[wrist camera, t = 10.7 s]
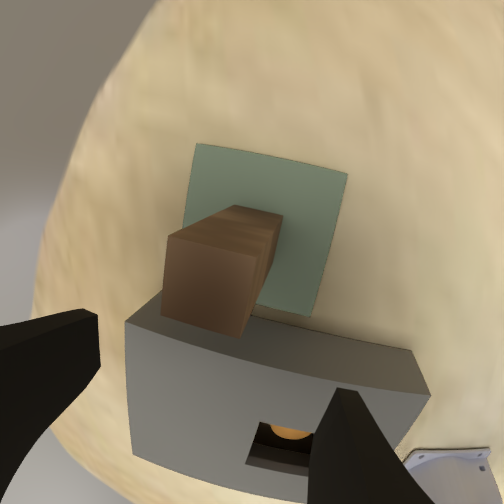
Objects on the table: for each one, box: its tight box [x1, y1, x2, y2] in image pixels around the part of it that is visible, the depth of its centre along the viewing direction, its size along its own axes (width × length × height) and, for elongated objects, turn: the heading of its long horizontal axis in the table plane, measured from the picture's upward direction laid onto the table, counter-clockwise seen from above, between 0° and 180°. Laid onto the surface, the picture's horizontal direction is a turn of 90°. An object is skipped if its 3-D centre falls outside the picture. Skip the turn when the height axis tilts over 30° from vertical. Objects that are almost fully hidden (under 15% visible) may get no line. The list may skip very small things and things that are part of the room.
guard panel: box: [125, 291, 431, 504], centre depth 18 cm, size 16×12×4 cm
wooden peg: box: [160, 205, 283, 339], centre depth 13 cm, size 3×3×8 cm
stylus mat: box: [182, 143, 348, 317], centre depth 17 cm, size 8×8×1 cm
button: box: [271, 424, 311, 439], centre depth 18 cm, size 3×3×2 cm
